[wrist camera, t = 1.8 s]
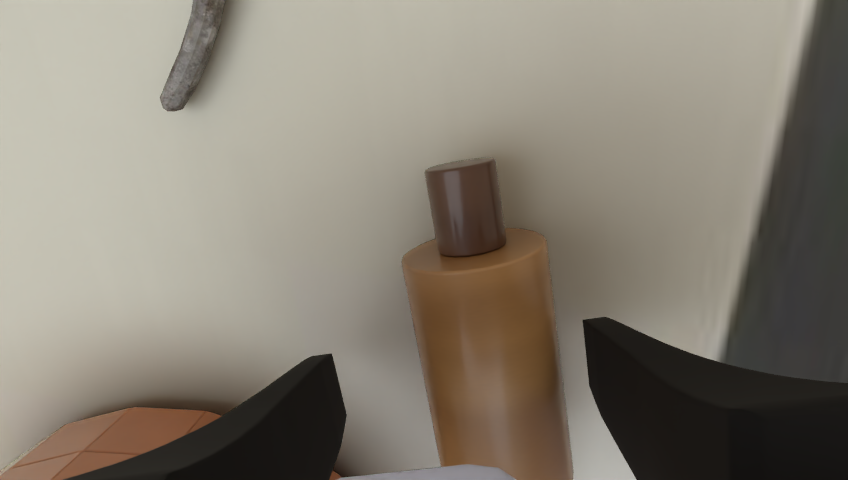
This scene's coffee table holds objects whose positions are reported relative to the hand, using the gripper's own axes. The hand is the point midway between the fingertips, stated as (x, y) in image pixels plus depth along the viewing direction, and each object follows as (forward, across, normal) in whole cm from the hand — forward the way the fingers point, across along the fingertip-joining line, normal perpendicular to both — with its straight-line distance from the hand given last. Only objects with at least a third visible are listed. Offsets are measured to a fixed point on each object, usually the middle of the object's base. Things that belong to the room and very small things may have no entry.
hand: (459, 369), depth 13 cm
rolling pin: (+2, 0, 0) cm, 2 cm away
